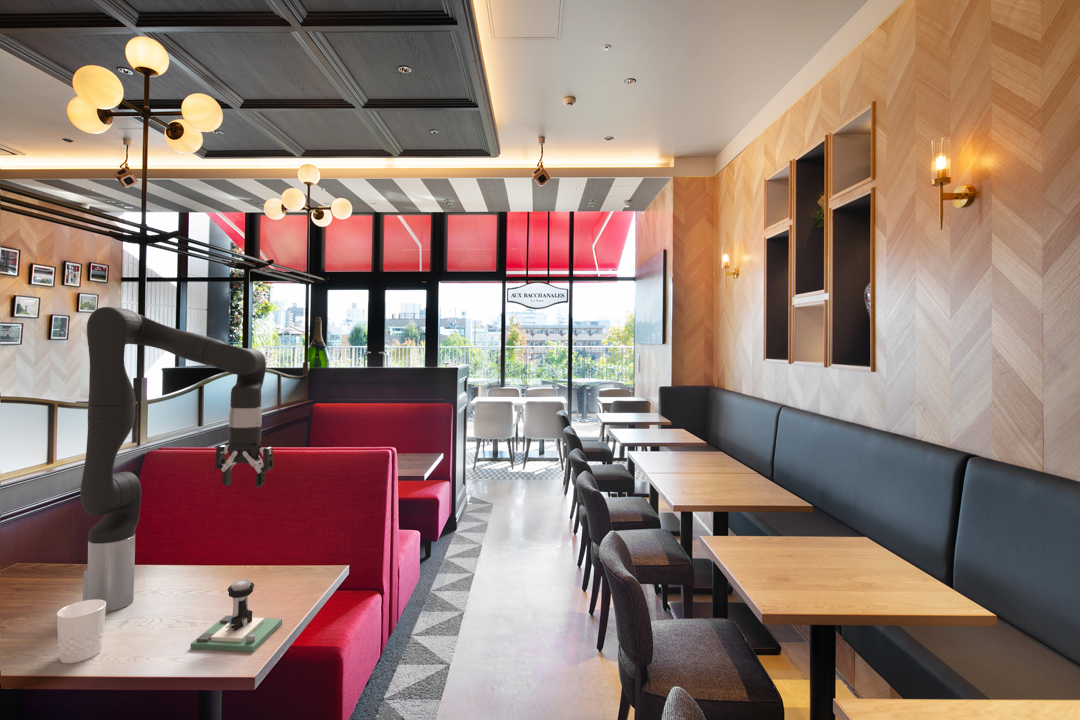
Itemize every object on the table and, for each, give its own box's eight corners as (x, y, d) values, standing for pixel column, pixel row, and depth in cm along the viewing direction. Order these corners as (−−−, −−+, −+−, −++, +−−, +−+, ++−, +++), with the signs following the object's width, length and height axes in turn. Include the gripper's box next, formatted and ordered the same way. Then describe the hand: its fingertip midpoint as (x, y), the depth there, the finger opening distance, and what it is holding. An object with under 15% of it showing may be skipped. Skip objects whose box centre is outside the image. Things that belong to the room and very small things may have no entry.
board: (190, 648, 114) (190, 637, 114) (225, 621, 126) (225, 611, 126) (253, 651, 114) (253, 641, 114) (282, 623, 126) (282, 613, 126)
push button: (236, 636, 116) (237, 591, 116) (216, 632, 117) (217, 588, 117) (258, 621, 123) (259, 579, 123) (239, 618, 124) (240, 576, 124)
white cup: (75, 644, 115) (77, 599, 115) (114, 644, 115) (115, 599, 115) (45, 666, 107) (46, 617, 107) (86, 665, 107) (87, 617, 107)
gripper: (209, 425, 133) (207, 488, 134) (263, 427, 133) (262, 490, 133) (227, 421, 141) (226, 481, 141) (279, 423, 140) (277, 483, 141)
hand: (243, 485), depth 137 cm, fingers open, 8 cm apart
